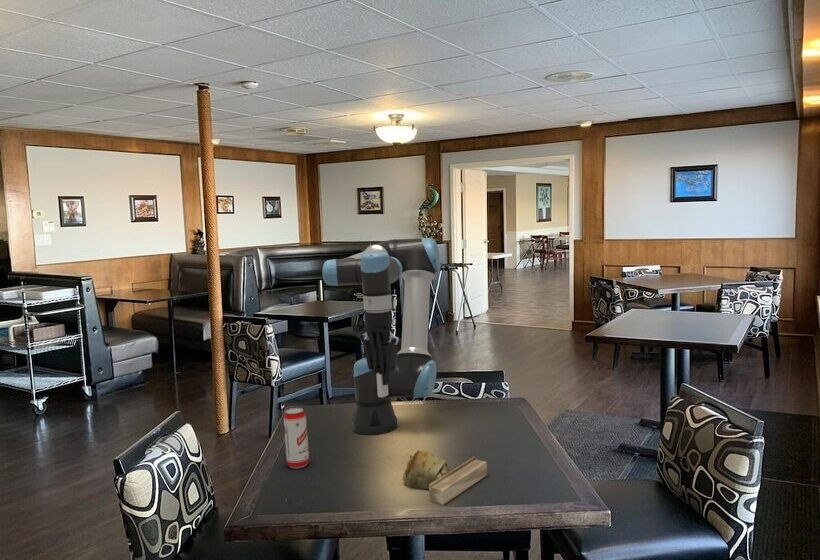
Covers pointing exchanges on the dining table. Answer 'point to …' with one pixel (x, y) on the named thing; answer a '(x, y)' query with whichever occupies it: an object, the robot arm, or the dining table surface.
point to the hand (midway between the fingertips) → (383, 395)
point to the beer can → (296, 438)
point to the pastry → (424, 470)
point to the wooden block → (457, 481)
